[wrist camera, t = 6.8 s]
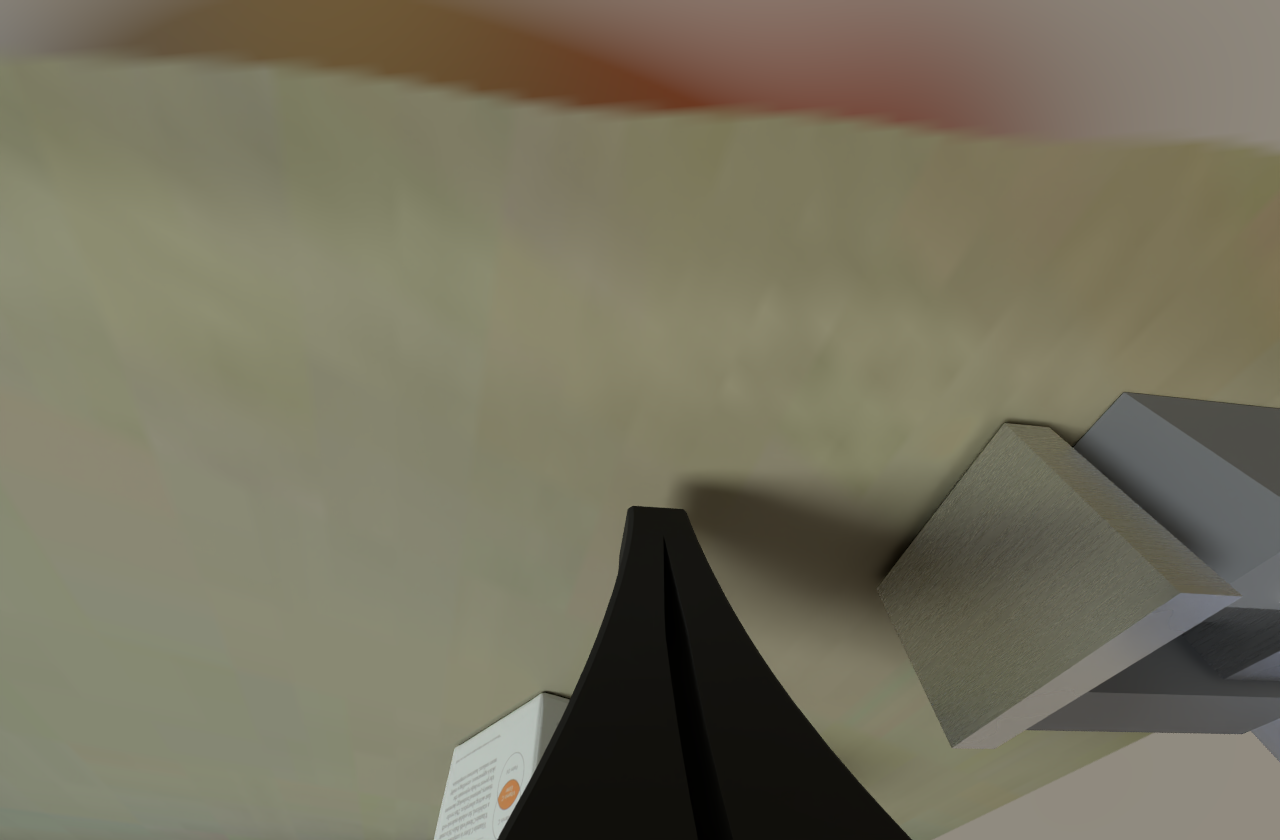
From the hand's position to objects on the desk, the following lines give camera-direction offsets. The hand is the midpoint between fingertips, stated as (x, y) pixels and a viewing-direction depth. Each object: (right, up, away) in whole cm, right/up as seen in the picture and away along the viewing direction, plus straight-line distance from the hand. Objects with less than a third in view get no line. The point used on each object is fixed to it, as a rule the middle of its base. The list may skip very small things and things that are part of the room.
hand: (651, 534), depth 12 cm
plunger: (+13, 0, +2) cm, 14 cm away
